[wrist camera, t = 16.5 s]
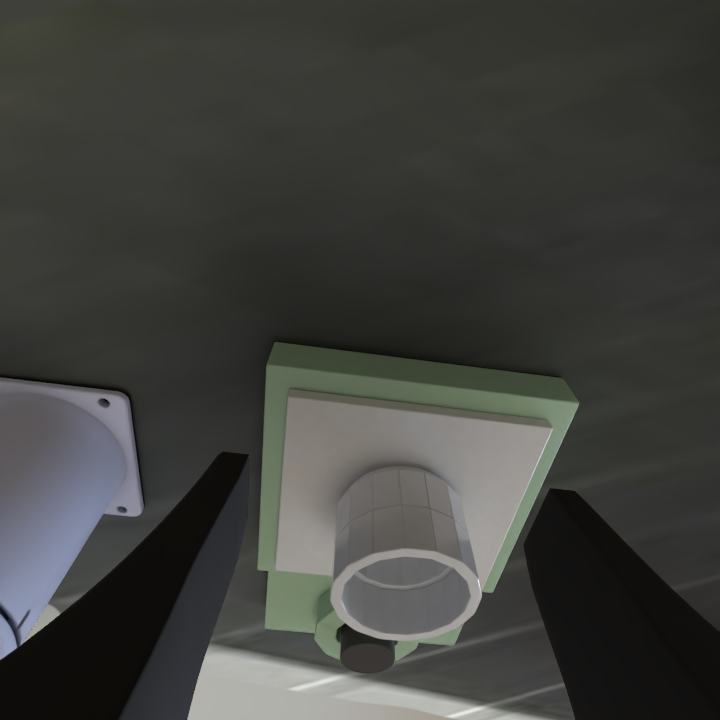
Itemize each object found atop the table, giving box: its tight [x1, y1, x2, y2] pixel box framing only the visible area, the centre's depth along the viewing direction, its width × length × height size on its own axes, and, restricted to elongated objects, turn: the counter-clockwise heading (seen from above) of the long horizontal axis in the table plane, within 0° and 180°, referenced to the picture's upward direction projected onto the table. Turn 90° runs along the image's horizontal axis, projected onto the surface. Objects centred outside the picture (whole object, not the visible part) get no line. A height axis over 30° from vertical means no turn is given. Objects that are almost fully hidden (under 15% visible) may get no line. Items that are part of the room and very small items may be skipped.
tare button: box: [340, 623, 395, 673], centre depth 26 cm, size 3×3×2 cm
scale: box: [257, 342, 579, 593], centre depth 23 cm, size 13×13×3 cm
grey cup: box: [330, 466, 482, 641], centre depth 20 cm, size 6×6×4 cm
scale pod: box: [265, 571, 463, 661], centre depth 28 cm, size 12×6×3 cm, turn 82°
